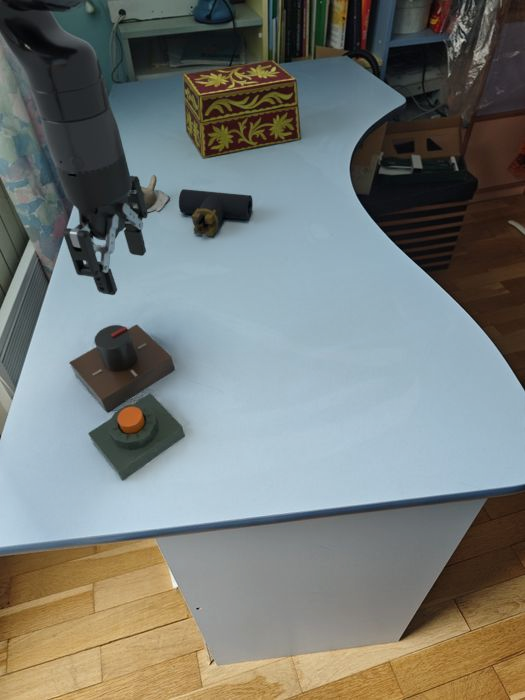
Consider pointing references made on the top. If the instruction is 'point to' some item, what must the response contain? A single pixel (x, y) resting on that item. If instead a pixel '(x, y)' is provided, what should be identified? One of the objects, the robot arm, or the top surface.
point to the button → (131, 420)
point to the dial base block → (128, 382)
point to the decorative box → (241, 108)
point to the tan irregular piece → (153, 197)
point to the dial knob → (116, 348)
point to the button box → (137, 437)
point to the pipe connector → (213, 208)
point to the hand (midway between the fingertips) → (124, 272)
